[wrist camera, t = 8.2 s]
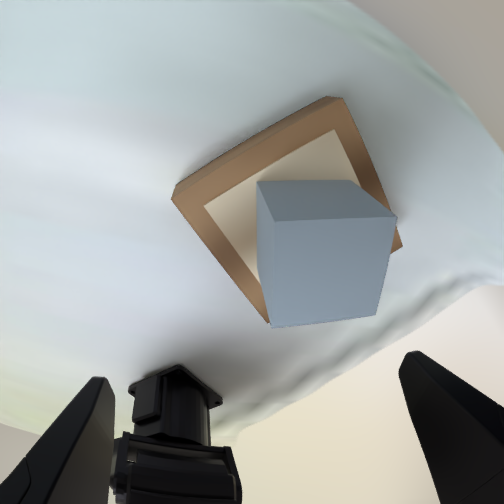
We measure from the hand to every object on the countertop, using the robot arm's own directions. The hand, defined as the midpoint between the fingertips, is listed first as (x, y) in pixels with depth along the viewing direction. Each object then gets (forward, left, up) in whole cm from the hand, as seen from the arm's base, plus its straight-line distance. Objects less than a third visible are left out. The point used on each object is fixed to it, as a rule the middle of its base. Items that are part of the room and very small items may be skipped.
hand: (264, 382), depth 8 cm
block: (-2, -3, -10) cm, 10 cm away
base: (-2, -3, -12) cm, 13 cm away
